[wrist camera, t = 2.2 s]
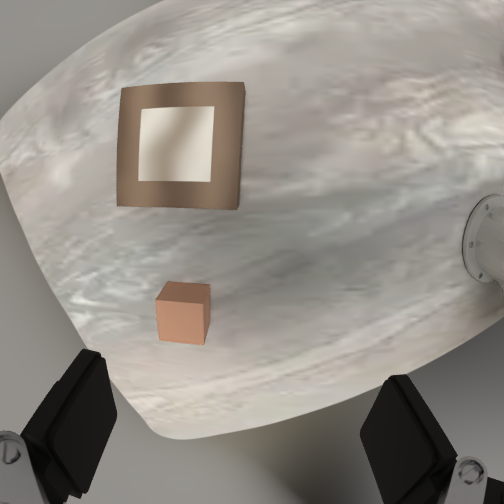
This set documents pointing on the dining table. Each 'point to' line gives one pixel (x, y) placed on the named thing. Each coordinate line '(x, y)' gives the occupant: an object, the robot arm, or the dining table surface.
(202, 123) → the walnut frame
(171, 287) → the terracotta cube
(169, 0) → the dining table surface
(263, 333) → the dining table surface
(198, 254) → the dining table surface
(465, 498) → the robot arm
